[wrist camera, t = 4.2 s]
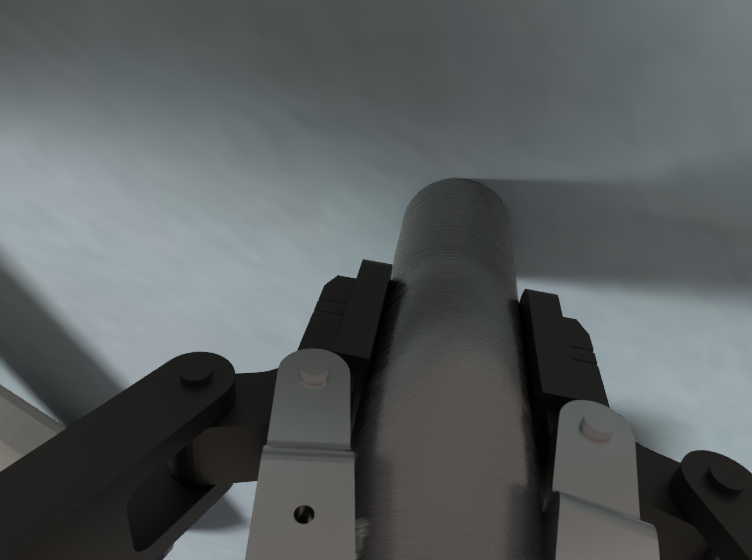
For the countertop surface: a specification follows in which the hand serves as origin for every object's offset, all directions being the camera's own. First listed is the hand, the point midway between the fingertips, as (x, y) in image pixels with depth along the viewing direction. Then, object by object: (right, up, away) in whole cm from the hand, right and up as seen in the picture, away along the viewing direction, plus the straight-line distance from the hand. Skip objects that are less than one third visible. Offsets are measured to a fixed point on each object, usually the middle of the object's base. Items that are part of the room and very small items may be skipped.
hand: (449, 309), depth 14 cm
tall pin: (+1, +2, +4) cm, 4 cm away
